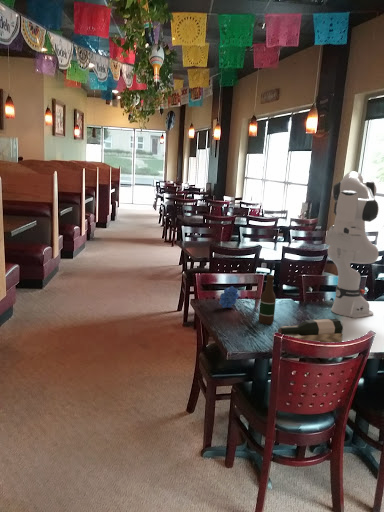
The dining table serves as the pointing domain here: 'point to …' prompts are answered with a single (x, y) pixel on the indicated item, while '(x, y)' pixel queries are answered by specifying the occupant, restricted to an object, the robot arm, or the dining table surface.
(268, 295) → the beer bottle
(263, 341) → the dining table surface
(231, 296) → the grapes
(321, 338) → the cradle
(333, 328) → the wine bottle
